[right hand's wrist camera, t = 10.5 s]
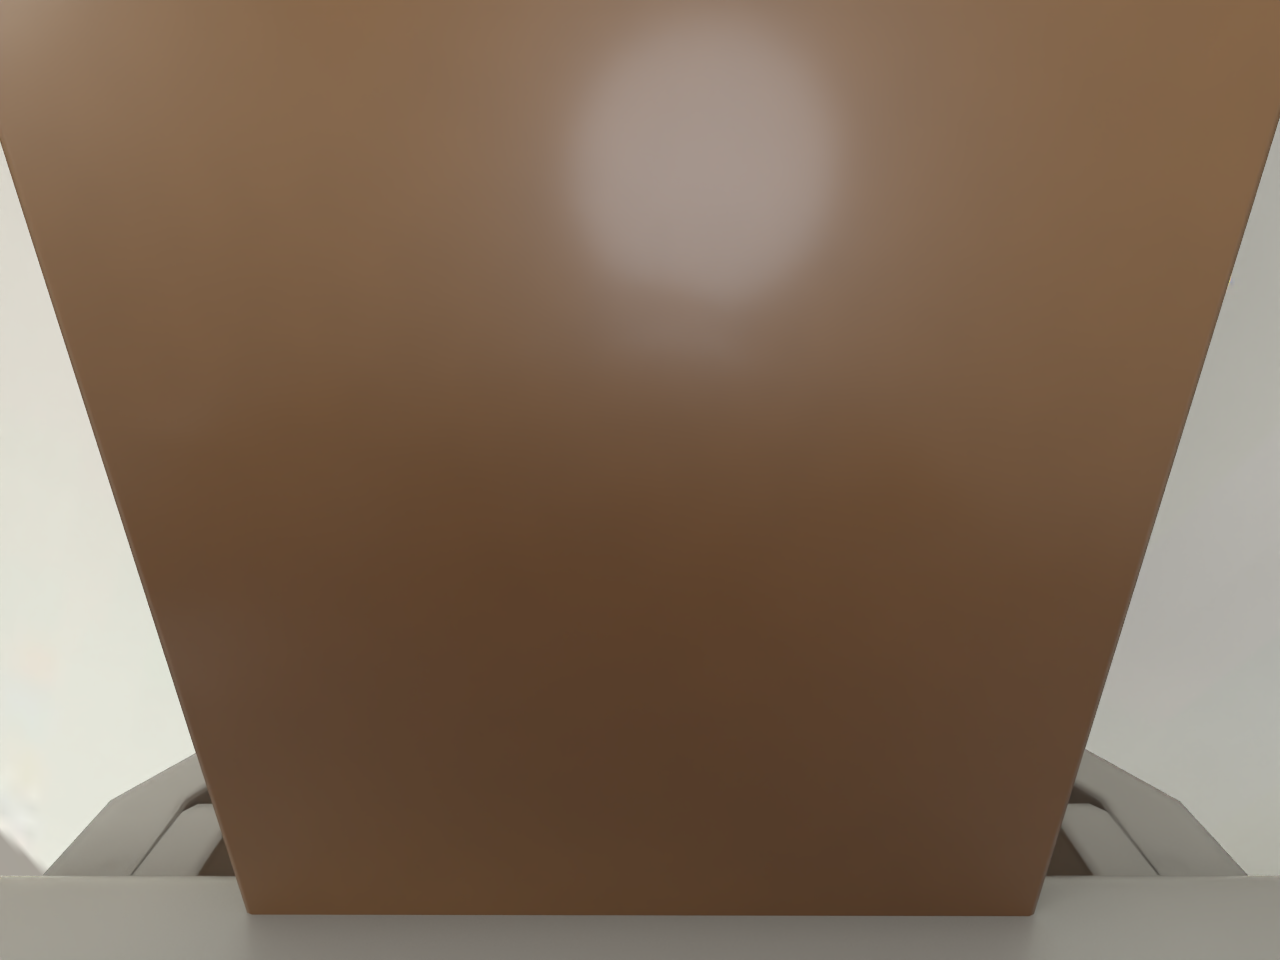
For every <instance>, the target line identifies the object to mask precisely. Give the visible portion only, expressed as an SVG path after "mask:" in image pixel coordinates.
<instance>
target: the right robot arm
mask: <svg viewBox="0 0 1280 960" xmlns="http://www.w3.org/2000/svg"><path fill="white" fill-rule="evenodd" d="M0 960H1280V876H1248V875H1247V874H1246V873H1245V872H1244V871H1243V870H1242V869H1241V867H1240V866H1239V865H1238V864H1237V863H1236V862H1235V861H1234V860H1233V859H1232V858H1231V857H1230V855H1229V854H1228V853H1227V852H1226V851H1225V850H1224V849H1223V848H1222V847H1221V846H1220V845H1219V843H1218V842H1217V841H1216V840H1215V839H1214V838H1213V837H1212V836H1211V835H1210V834H1209V833H1208V831H1207V830H1206V829H1205V828H1204V827H1203V826H1202V825H1201V824H1200V823H1199V822H1198V821H1197V819H1196V818H1195V817H1194V816H1193V815H1192V814H1191V813H1190V812H1189V811H1188V810H1187V809H1186V807H1185V806H1184V805H1183V804H1182V803H1181V802H1180V801H1178V800H1176V799H1174V798H1173V797H1171V796H1169V795H1167V794H1165V793H1164V792H1162V791H1160V790H1158V789H1156V788H1155V787H1153V786H1151V785H1149V784H1147V783H1146V782H1144V781H1142V780H1140V779H1138V778H1136V777H1135V776H1133V775H1131V774H1129V773H1127V772H1126V771H1124V770H1122V769H1120V768H1118V767H1117V766H1115V765H1113V764H1111V763H1109V762H1108V761H1106V760H1104V759H1102V758H1100V757H1099V756H1097V755H1095V754H1093V753H1091V752H1089V751H1088V750H1086V749H1085V750H1084V753H1083V757H1082V760H1081V763H1080V766H1079V770H1078V773H1077V776H1076V779H1075V782H1074V786H1073V789H1072V792H1071V795H1070V799H1069V802H1068V805H1067V808H1066V812H1065V815H1064V818H1063V821H1062V825H1061V828H1060V831H1059V834H1058V838H1057V841H1056V844H1055V847H1054V851H1053V854H1052V857H1051V860H1050V864H1049V867H1048V870H1047V873H1046V877H1045V880H1044V883H1043V886H1042V889H1041V893H1040V896H1039V899H1038V902H1037V906H1036V909H1035V912H1034V914H1033V915H1031V916H675V915H252V914H249V913H247V911H246V908H245V905H244V902H243V898H242V895H241V892H240V889H239V886H238V883H237V880H236V877H235V873H234V870H233V867H232V864H231V861H230V858H229V855H228V852H227V848H226V845H225V842H224V839H223V836H222V833H221V830H220V827H219V823H218V820H217V817H216V814H215V811H214V808H213V805H212V801H211V798H210V795H209V792H208V789H207V786H206V783H205V780H204V776H203V773H202V770H201V767H200V764H199V761H198V758H197V755H196V753H195V754H193V755H191V756H190V757H188V758H186V759H184V760H182V761H181V762H179V763H177V764H175V765H173V766H172V767H170V768H168V769H166V770H164V771H163V772H161V773H159V774H157V775H156V776H154V777H152V778H150V779H148V780H147V781H145V782H143V783H141V784H139V785H138V786H136V787H134V788H132V789H130V790H129V791H127V792H125V793H123V794H121V795H120V796H118V797H116V798H114V799H112V800H111V801H110V802H109V803H108V804H107V805H106V806H105V807H104V808H103V809H102V810H101V812H100V813H99V814H98V815H97V816H96V817H95V818H94V819H93V820H92V822H91V823H90V824H89V825H88V826H87V827H86V828H85V829H84V830H83V831H82V833H81V834H80V835H79V836H78V837H77V838H76V839H75V840H74V841H73V842H72V844H71V845H70V846H69V847H68V848H67V849H66V850H65V851H64V852H63V854H62V855H61V856H60V857H59V858H58V859H57V860H56V861H55V862H54V863H53V865H52V866H51V867H50V868H49V869H48V870H47V871H46V872H45V873H44V874H43V876H0Z"/></svg>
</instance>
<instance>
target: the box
mask: <svg viewBox="0 0 1280 960" xmlns="http://www.w3.org/2000/svg"><path fill="white" fill-rule="evenodd" d="M1279 118H1280V0H0V142H1V145H2V148H3V151H4V154H5V157H6V161H7V164H8V167H9V170H10V173H11V176H12V179H13V182H14V186H15V189H16V192H17V195H18V198H19V201H20V204H21V207H22V211H23V214H24V217H25V220H26V223H27V226H28V229H29V232H30V236H31V239H32V242H33V245H34V248H35V251H36V254H37V257H38V261H39V264H40V267H41V270H42V273H43V276H44V279H45V282H46V286H47V289H48V292H49V295H50V298H51V301H52V304H53V308H54V311H55V314H56V317H57V320H58V323H59V326H60V329H61V333H62V336H63V339H64V342H65V345H66V348H67V351H68V354H69V358H70V361H71V364H72V367H73V370H74V373H75V376H76V379H77V383H78V386H79V389H80V392H81V395H82V398H83V401H84V404H85V408H86V411H87V414H88V417H89V420H90V423H91V426H92V429H93V433H94V436H95V439H96V442H97V445H98V448H99V451H100V454H101V458H102V461H103V464H104V467H105V470H106V473H107V476H108V479H109V483H110V486H111V489H112V492H113V495H114V498H115V501H116V504H117V508H118V511H119V514H120V517H121V520H122V523H123V526H124V529H125V533H126V536H127V539H128V542H129V545H130V548H131V551H132V554H133V558H134V561H135V564H136V567H137V570H138V573H139V576H140V580H141V583H142V586H143V589H144V592H145V595H146V598H147V601H148V605H149V608H150V611H151V614H152V617H153V620H154V623H155V626H156V630H157V633H158V636H159V639H160V642H161V645H162V648H163V651H164V655H165V658H166V661H167V664H168V667H169V670H170V673H171V676H172V680H173V683H174V686H175V689H176V692H177V695H178V698H179V701H180V705H181V708H182V711H183V714H184V717H185V720H186V723H187V726H188V730H189V733H190V736H191V739H192V742H193V745H194V748H195V751H196V755H197V758H198V761H199V764H200V767H201V770H202V773H203V776H204V780H205V783H206V786H207V789H208V792H209V795H210V798H211V801H212V805H213V808H214V811H215V814H216V817H217V820H218V823H219V827H220V830H221V833H222V836H223V839H224V842H225V845H226V848H227V852H228V855H229V858H230V861H231V864H232V867H233V870H234V873H235V877H236V880H237V883H238V886H239V889H240V892H241V895H242V898H243V902H244V905H245V908H246V911H247V913H249V914H252V915H675V916H1031V915H1033V914H1034V912H1035V909H1036V906H1037V902H1038V899H1039V896H1040V893H1041V889H1042V886H1043V883H1044V880H1045V877H1046V873H1047V870H1048V867H1049V864H1050V860H1051V857H1052V854H1053V851H1054V847H1055V844H1056V841H1057V838H1058V834H1059V831H1060V828H1061V825H1062V821H1063V818H1064V815H1065V812H1066V808H1067V805H1068V802H1069V799H1070V795H1071V792H1072V789H1073V786H1074V782H1075V779H1076V776H1077V773H1078V770H1079V766H1080V763H1081V760H1082V757H1083V753H1084V750H1085V747H1086V744H1087V740H1088V737H1089V734H1090V731H1091V727H1092V724H1093V721H1094V718H1095V714H1096V711H1097V708H1098V705H1099V701H1100V698H1101V695H1102V692H1103V688H1104V685H1105V682H1106V679H1107V675H1108V672H1109V669H1110V666H1111V663H1112V659H1113V656H1114V653H1115V650H1116V646H1117V643H1118V640H1119V637H1120V633H1121V630H1122V627H1123V624H1124V620H1125V617H1126V614H1127V611H1128V607H1129V604H1130V601H1131V598H1132V594H1133V591H1134V588H1135V585H1136V581H1137V578H1138V575H1139V572H1140V569H1141V565H1142V562H1143V559H1144V556H1145V552H1146V549H1147V546H1148V543H1149V539H1150V536H1151V533H1152V530H1153V526H1154V523H1155V520H1156V517H1157V513H1158V510H1159V507H1160V504H1161V500H1162V497H1163V494H1164V491H1165V487H1166V484H1167V481H1168V478H1169V474H1170V471H1171V468H1172V465H1173V462H1174V458H1175V455H1176V452H1177V449H1178V445H1179V442H1180V439H1181V436H1182V432H1183V429H1184V426H1185V423H1186V419H1187V416H1188V413H1189V410H1190V406H1191V403H1192V400H1193V397H1194V393H1195V390H1196V387H1197V384H1198V380H1199V377H1200V374H1201V371H1202V367H1203V364H1204V361H1205V358H1206V355H1207V351H1208V348H1209V345H1210V342H1211V338H1212V335H1213V332H1214V329H1215V325H1216V322H1217V319H1218V316H1219V312H1220V309H1221V306H1222V303H1223V299H1224V296H1225V293H1226V290H1227V286H1228V283H1229V280H1230V277H1231V273H1232V270H1233V267H1234V264H1235V260H1236V257H1237V254H1238V251H1239V248H1240V244H1241V241H1242V238H1243V235H1244V231H1245V228H1246V225H1247V222H1248V218H1249V215H1250V212H1251V209H1252V205H1253V202H1254V199H1255V196H1256V192H1257V189H1258V186H1259V183H1260V179H1261V176H1262V173H1263V170H1264V166H1265V163H1266V160H1267V157H1268V153H1269V150H1270V147H1271V144H1272V141H1273V137H1274V134H1275V131H1276V128H1277V124H1278V121H1279Z"/></svg>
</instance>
